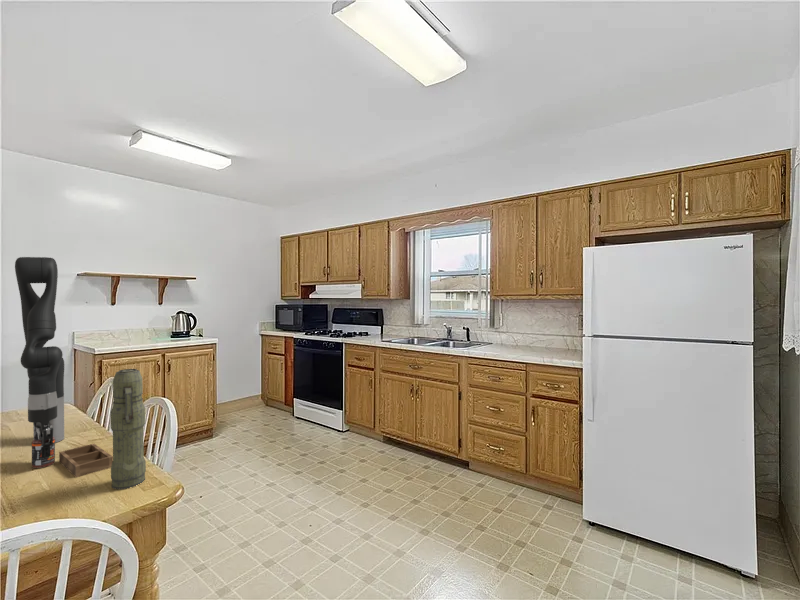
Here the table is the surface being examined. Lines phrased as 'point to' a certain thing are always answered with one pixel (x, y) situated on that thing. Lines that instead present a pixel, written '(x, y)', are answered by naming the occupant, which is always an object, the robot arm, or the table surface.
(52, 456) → the supplement bottle
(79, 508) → the table surface
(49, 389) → the robot arm
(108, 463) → the wooden divided tray
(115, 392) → the thermos
